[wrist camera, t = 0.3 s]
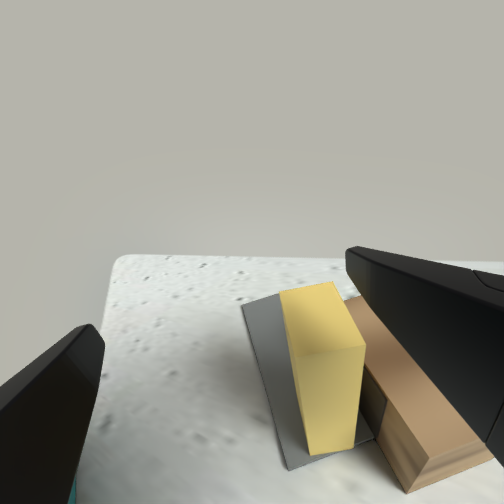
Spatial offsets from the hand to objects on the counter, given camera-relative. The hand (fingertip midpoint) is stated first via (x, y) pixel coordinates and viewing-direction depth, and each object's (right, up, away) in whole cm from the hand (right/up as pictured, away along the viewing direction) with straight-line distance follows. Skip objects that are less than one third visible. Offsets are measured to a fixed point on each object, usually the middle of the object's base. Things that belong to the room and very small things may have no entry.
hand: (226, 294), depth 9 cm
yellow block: (+6, -11, +10) cm, 16 cm away
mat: (+5, -8, +15) cm, 18 cm away
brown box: (+12, -10, +11) cm, 19 cm away
